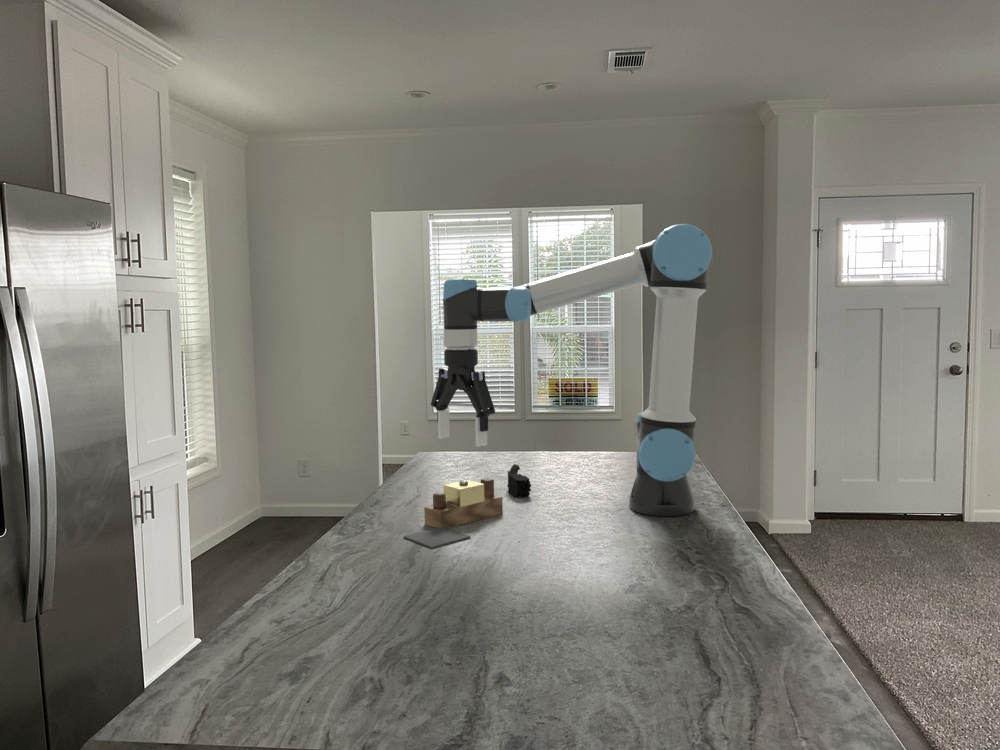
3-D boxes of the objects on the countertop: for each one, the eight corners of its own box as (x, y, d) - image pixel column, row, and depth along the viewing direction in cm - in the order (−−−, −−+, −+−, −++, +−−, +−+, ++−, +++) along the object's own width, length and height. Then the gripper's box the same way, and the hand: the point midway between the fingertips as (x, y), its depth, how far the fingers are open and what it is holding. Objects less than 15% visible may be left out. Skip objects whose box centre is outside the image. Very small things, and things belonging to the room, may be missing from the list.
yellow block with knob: (467, 496, 174) (467, 477, 173) (484, 501, 169) (484, 481, 169) (444, 502, 169) (443, 482, 169) (460, 507, 165) (459, 486, 164)
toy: (532, 498, 187) (531, 472, 186) (512, 499, 186) (512, 473, 186) (519, 485, 202) (519, 461, 201) (501, 486, 201) (501, 462, 201)
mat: (470, 538, 155) (470, 536, 155) (431, 548, 149) (431, 546, 149) (441, 527, 163) (441, 526, 163) (403, 537, 156) (403, 535, 156)
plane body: (486, 508, 178) (485, 475, 177) (502, 513, 173) (502, 480, 172) (424, 524, 166) (423, 489, 165) (440, 529, 161) (440, 493, 161)
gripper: (510, 349, 159) (511, 446, 161) (440, 345, 178) (442, 433, 180) (483, 351, 154) (485, 451, 156) (415, 347, 173) (416, 436, 175)
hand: (462, 441), depth 168 cm, fingers open, 13 cm apart
